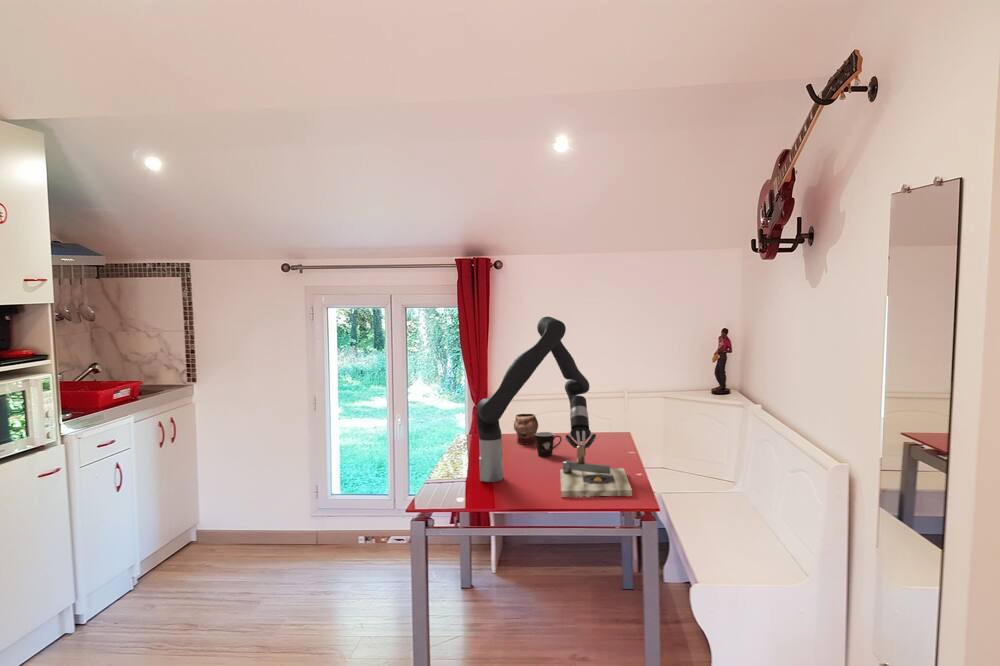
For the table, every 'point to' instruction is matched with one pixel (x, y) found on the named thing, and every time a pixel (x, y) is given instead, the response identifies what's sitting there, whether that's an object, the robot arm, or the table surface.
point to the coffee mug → (545, 443)
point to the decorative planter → (526, 428)
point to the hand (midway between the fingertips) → (582, 456)
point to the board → (595, 484)
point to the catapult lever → (583, 464)
